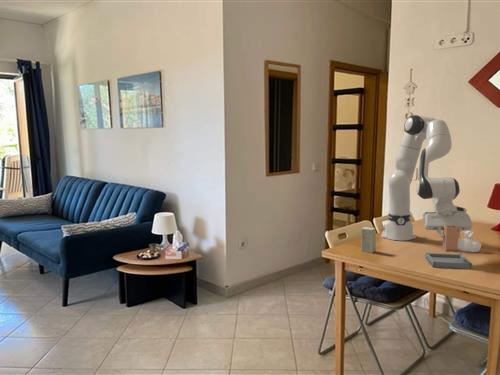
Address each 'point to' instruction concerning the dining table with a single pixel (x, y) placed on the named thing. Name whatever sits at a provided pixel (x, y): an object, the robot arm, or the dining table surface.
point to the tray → (448, 260)
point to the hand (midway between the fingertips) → (450, 237)
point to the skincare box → (368, 239)
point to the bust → (468, 243)
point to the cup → (450, 239)
